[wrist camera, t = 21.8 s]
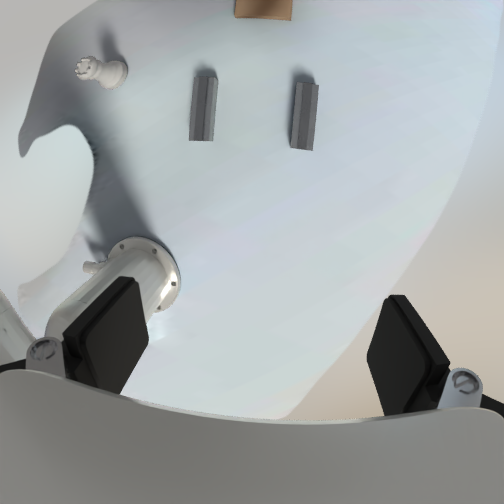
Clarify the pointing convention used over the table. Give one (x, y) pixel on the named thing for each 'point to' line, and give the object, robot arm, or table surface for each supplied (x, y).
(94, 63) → the rook chess piece
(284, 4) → the pad
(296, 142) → the metal bars
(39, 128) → the table surface
